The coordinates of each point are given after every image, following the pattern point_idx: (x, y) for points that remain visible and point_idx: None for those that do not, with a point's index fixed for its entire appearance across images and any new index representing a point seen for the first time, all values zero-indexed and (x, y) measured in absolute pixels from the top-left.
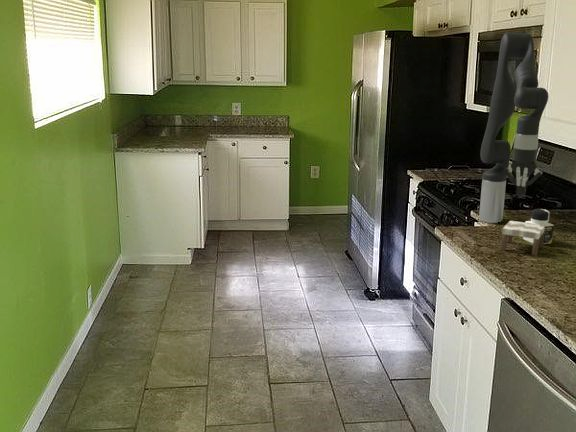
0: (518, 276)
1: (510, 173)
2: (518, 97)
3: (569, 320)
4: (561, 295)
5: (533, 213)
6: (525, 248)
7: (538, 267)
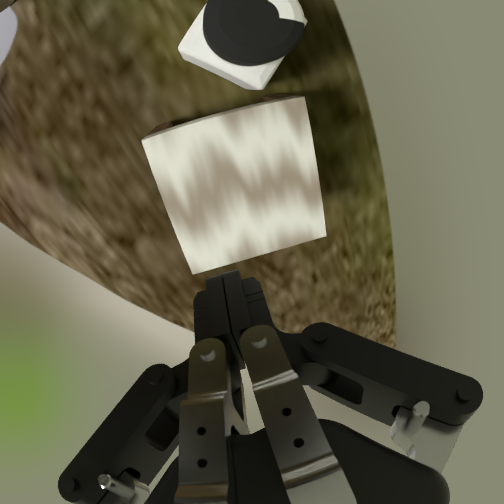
0: None
1: (140, 473)
2: None
3: None
4: None
5: (229, 58)
6: None
7: (330, 276)
